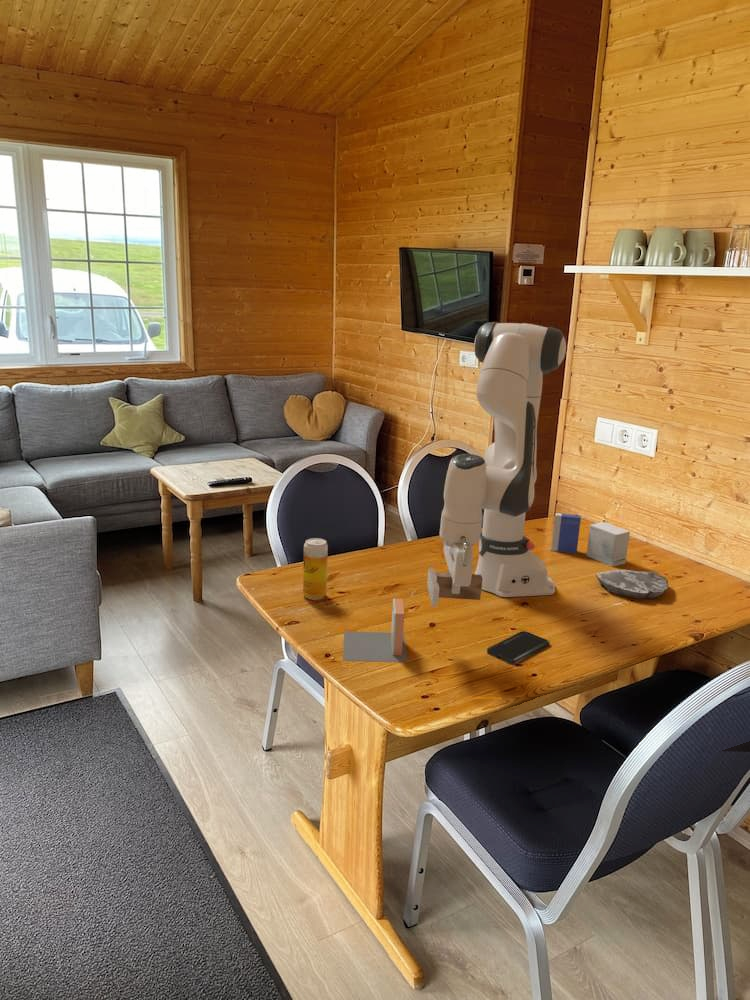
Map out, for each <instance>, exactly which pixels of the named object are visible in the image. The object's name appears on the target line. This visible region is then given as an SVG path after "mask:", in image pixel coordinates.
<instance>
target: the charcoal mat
mask: <svg viewBox="0 0 750 1000" xmlns="http://www.w3.org/2000/svg"><path fill="white" fill-rule="evenodd" d="M405 638H406V637H405V633H404V632H403V644H402V655H392V646H391V632H378V631H375V632H374V631H346V630H345V631H343V647H342V648H343V649H342V650H343V652H342V654H343V655H342V661H346V662H348V661H350V662H381V663H384V662H385V663H408V654H407V646H406V639H405Z"/></svg>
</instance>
